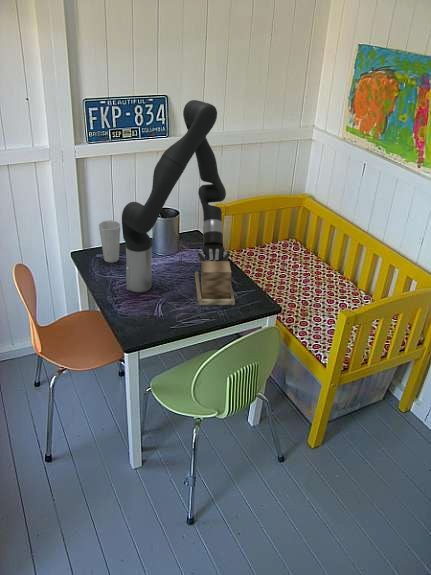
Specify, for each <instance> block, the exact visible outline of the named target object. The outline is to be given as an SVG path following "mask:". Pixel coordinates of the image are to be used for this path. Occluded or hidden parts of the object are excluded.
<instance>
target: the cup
mask: <svg viewBox="0 0 431 575" xmlns="http://www.w3.org/2000/svg"><path fill="white" fill-rule="evenodd" d="M98 230H99V236H100V237H99V238H100V241H101V248H102V255H103V260H104V261H105V262H107V263H110V264H111V263H116V262H118V261H119V259H120V241H121V236H120V235H121V223H120V222H119V221H116V220H104V221H101V222H100V223H99V224H98Z"/></svg>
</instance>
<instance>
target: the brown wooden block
mask: <svg viewBox="0 0 431 575" xmlns="http://www.w3.org/2000/svg"><path fill="white" fill-rule="evenodd" d="M200 269H201V271H200V273H201V275H200V291H201V299H230V284H231V285H232V270H231V269H232V268H231V265H230V260H229V261H228V260H226V261H222V260H218V261H214V260H213V261H209V260H206V261H202V262H201V267H200Z"/></svg>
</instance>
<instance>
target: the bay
mask: <svg viewBox="0 0 431 575" xmlns="http://www.w3.org/2000/svg"><path fill="white" fill-rule="evenodd" d="M199 276H200V275H199V271H194V279H195V281H194V282H195V288H196V296H197V297H196V298H197V306H235V304H236V300H235V294H234V291H233V287H232V283H231V284H230V297H229V299H202V296H201V282H200V277H199Z"/></svg>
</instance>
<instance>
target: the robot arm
mask: <svg viewBox="0 0 431 575" xmlns="http://www.w3.org/2000/svg"><path fill="white" fill-rule="evenodd" d="M182 116H183V120H184V123H185V126H186V130H187V131H186V133H185V134H184V135H183V136H182V137H181V138H180V139H179V140H177V141H176V142H175V143H173V144H172V145H171V146H169V147H167V149H166V150H165V151H164V152H163V154H161V156H160V158H159V159H158V161H157V163H156V164H155V167H154V170H153V176H152V187H151V192H150V194H149V197H148V199H147V200H146V202H145V203H144V205H143V204H141V202H140V203H139V202H138V201H131V202H128V203H126V205H125V206H124V207H123V210H122V212H121V229H122V230H121V231H122V238H123V241H124V243H125V261H126V262H125V263H126V265H125V274H126V275H125V277H126V279H125V280H126V290H127V291H131V292H134V293H144V292H147V291H149V290H150V289H151V288H152V284H153V281H152V279H153V278H152V272H153V271H152V268H153V267H152V238H151V237H150V235H149V234H148V233H149V232H150V231H151V230H152V229H153V228H154V226H155V224H156V222H157V220H159V216H160V214H161V212H162V210H163V208H164V205H166V202H167V200H168V198H169V196H170V194H171V193H172V191H173V189H174V188H175V186H176V184H177V182H178V181H179V180H180V178H181V176H182V175H183V173H184V171H185V169H186V167H187V166H188V164H189V162H190V161H191V160H192V158H193V156H194V154H195V158H196V161H197V168H198V174H199V179H200V180H201V181H203V182H204V183H209V184H202V185H200V187H199V188H198V192H197V193H198V196H199V202H200V203H201V207H202V213H203V216H202V217H203V226H202V237H203V238H202V239H203V243H202V246H203V247H202V249H201V251H200V252H197V255H196V256H197V258H198V259H199V261H200V262H201V263H202V261H207V259H208V261H219V259H220V258H221V257H223V258H222V259H221V261H228V259H229V258H230V256H231V253H230V252H227V251H226V249H225V247H224V233H223V232H224V231H223V230H224V229H223V228H224V227H223V220H222V219H223V218H222V217H223V216H222V212H223V211H222V208H221V207H219V206H215V205H210V203H218V202H220V203H221V202H223V201H224V200H225V198H226V196H227V192H226V189H225V186H224V184H223V182H222V179H221V178H220V175H219V171H218V164H217V159H216V156H215V153H214V150H213V149H212V147H211V144H210V143H209V141H208V138H207V136H208V134H209V133H210V132H211V131H212V129H213V128H214V125H215V124H216V122H217V119H218V110H217V108H216V106H214V104H212V103H209V102H205V101H201V100H198V99H197V100H196V99H192V100H189V101H187V103H186V104H185V105H184V107H183V113H182ZM204 256H205V257H206V258H207V259H206V258H205V257H204Z"/></svg>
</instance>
